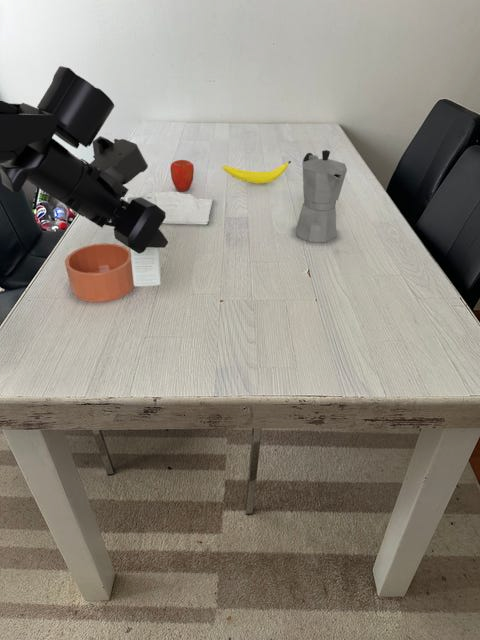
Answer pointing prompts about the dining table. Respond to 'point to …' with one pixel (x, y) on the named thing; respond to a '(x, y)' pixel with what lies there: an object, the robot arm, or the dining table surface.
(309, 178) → the coffeepot
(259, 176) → the banana
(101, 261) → the crock
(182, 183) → the red rounded piece
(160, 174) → the dining table surface
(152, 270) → the cosmetic box
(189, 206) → the terrain model
